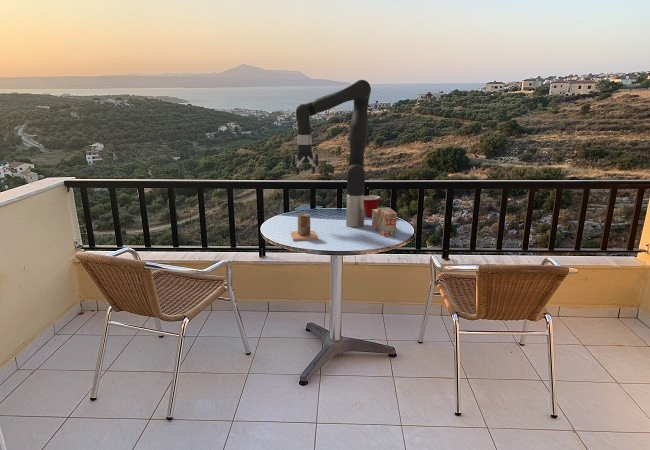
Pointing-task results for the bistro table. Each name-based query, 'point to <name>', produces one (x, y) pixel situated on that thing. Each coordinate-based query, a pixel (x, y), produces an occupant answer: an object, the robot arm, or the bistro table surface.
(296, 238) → the terracotta tile
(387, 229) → the stack of blocks
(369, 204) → the plastic cup
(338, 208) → the bistro table surface
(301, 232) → the walnut block
